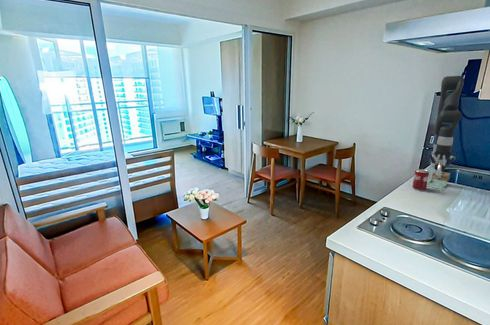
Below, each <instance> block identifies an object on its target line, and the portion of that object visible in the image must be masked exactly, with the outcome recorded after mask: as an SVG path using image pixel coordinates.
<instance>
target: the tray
mask: <svg viewBox="0 0 490 325" xmlns="http://www.w3.org/2000/svg"><path fill="white" fill-rule="evenodd" d="M433 182H435V183H433ZM436 183H440V184H436ZM448 183H449V181H448V182H446V181H441V180H436V179H431V178H430V179H428V182H427V188H429V187H430V188H433V189H435V188H436V189H438V190H442V191H443V190H444V188H445V187H447V185H448ZM441 184H443V185H441Z"/></svg>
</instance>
